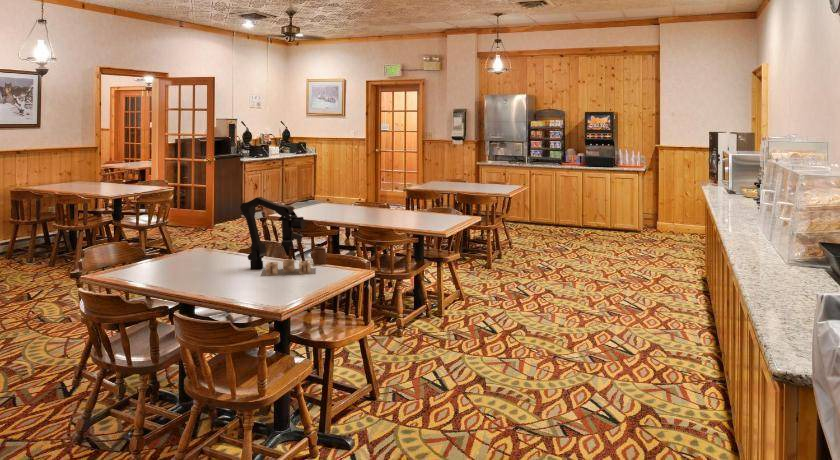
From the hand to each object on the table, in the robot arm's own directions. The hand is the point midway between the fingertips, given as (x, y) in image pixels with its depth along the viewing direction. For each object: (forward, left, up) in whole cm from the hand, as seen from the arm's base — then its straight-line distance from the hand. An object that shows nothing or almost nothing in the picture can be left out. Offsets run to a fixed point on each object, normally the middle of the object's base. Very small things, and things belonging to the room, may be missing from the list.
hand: (288, 255), depth 346 cm
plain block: (0, 0, -9) cm, 9 cm away
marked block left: (-9, -6, -9) cm, 14 cm away
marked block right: (+9, -6, -9) cm, 14 cm away
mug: (+16, +16, -10) cm, 25 cm away
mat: (0, -3, -10) cm, 10 cm away
